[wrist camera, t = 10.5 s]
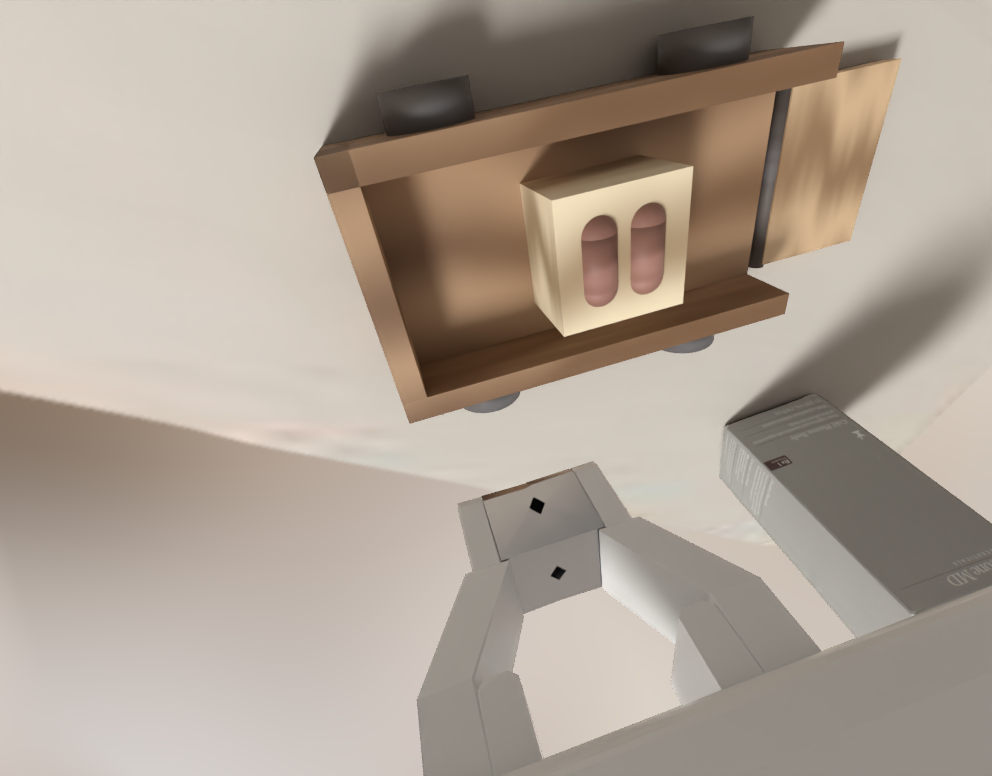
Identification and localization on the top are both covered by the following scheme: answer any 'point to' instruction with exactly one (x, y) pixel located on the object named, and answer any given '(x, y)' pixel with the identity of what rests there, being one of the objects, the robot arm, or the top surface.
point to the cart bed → (500, 220)
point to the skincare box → (855, 514)
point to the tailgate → (819, 160)
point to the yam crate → (608, 240)
